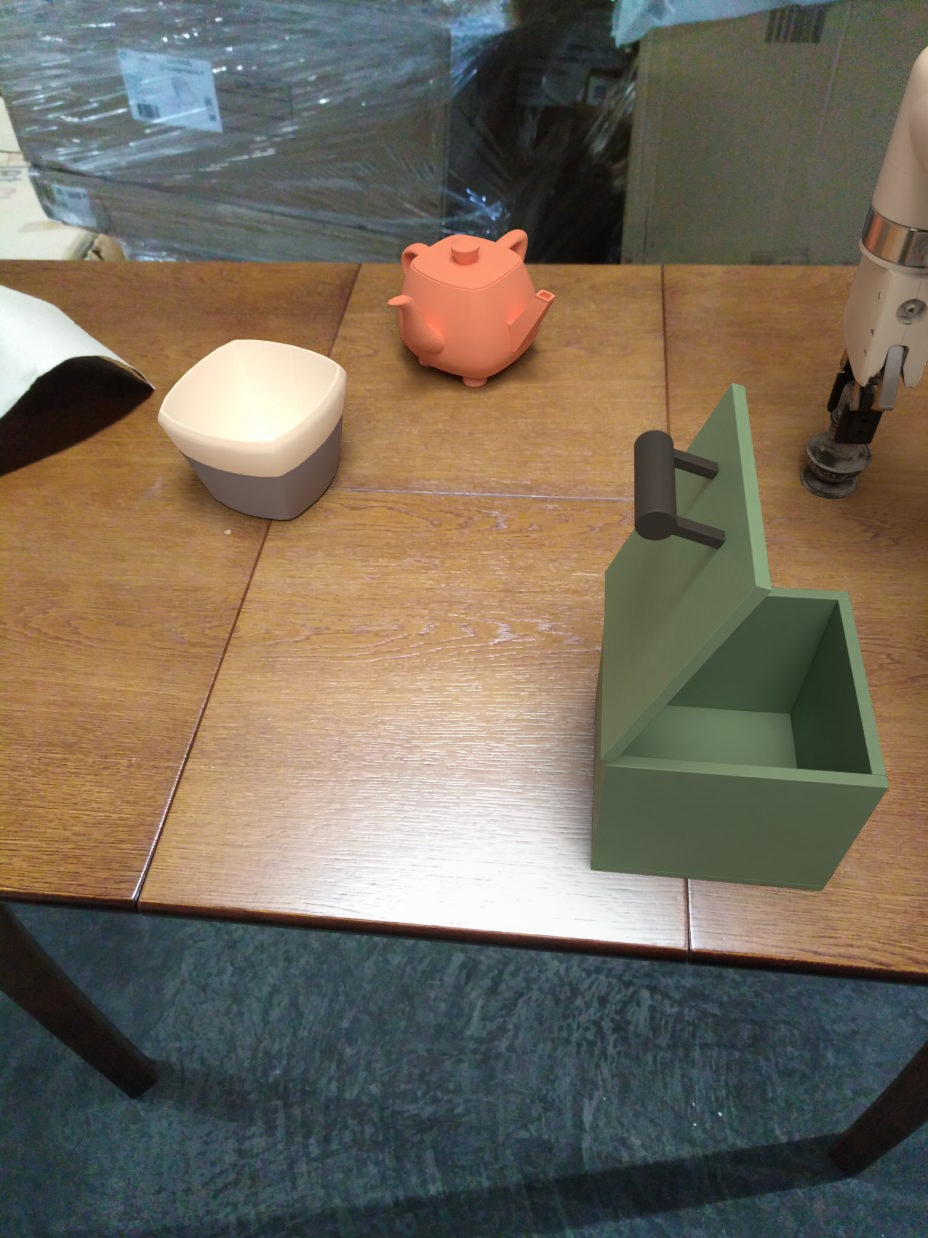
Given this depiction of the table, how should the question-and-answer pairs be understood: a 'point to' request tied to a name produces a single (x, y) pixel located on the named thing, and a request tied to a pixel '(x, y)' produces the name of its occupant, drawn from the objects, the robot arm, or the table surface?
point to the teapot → (469, 304)
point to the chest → (750, 757)
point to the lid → (681, 567)
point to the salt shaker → (835, 457)
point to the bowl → (260, 425)
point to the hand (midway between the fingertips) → (848, 424)
